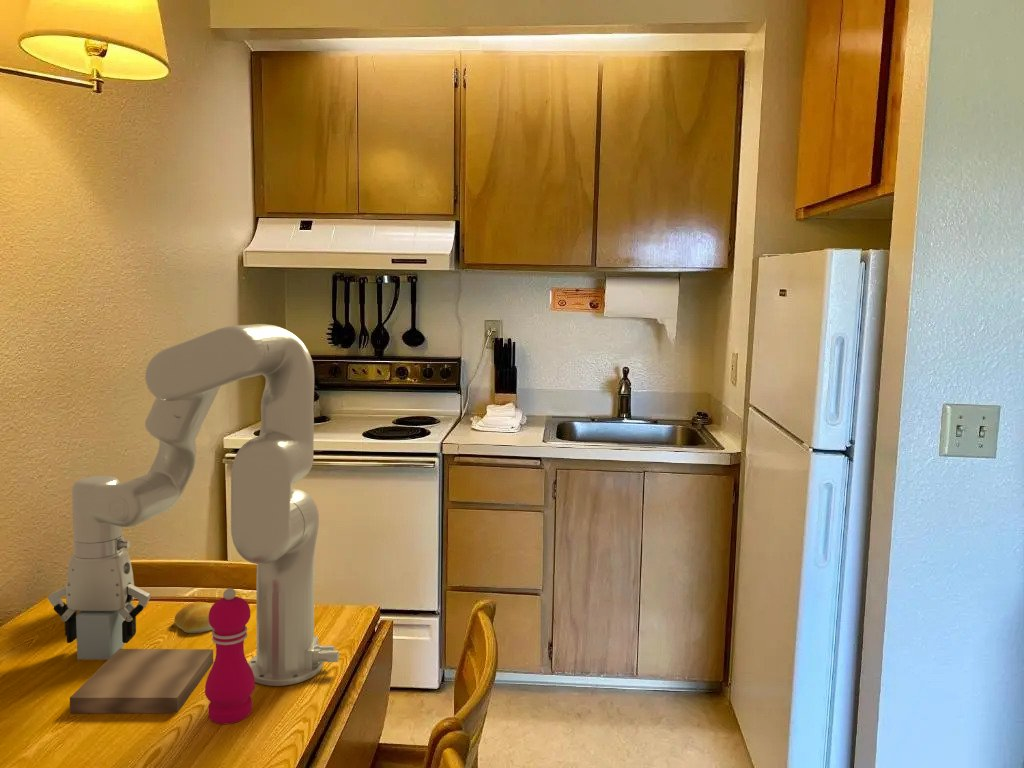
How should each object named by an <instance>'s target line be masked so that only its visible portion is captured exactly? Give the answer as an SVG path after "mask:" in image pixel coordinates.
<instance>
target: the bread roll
mask: <svg viewBox="0 0 1024 768" xmlns="http://www.w3.org/2000/svg"><path fill="white" fill-rule="evenodd" d="M211 607H212V604H210V603H208V602H204V601H195V602H194V601H193V602H191V603H189V604H186V605H184V606H183V607H182V608H181V609H179V610H178V611H177V613H176V614H175V616H174V623H175V626H177V628H178V629H180V630H182V631H183V632H185V633H187V634H197V633H206V632H210V631H213V630H214V629H213V628H212V627H211V625H210V623H209V619H208V617H209V611H210V609H211Z"/></svg>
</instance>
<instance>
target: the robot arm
mask: <svg viewBox="0 0 1024 768" xmlns="http://www.w3.org/2000/svg"><path fill="white" fill-rule="evenodd" d="M261 375H262V376H263V377H264V379H265V385H264V389H263V391H262V397H261V401H260V418H261V419H260V431H259V435H258V436H255V437H253V438H251V439H250V440H248V441H246V442H245V443H244V444H243V445H242V446H240V448H239V450H237V452H236V454H235V457H234V460H233V463H232V466H231V475H230V477H231V478H230V534H231V539H232V543H233V546H234V548H235V549H236V552H237V553H238V554H239V555H240V557H241V558H243V559H244V560H245V561H247V562H249V563H250V564H255V565H256V590H255V591H256V596H255V597H256V655H255V656H253V657H252V658H251V660H250V661H249V662H248V664H249V665H250V667H251V669H252V671H253V674H254V679H255V683H257V684H260V685H263V686H273V687H280V686H281V687H283V686H289V685H295V684H299V683H302V682H305V681H307V680H309V679H311V678H313V677H314V676H316V675H318V673H320V671H321V670H322V668H323V666H324V665H323V664H324V663H326V662H327V663H338V662H339V659H340V652H339V650H335V645H322V644H321V643H319V636H315V572H316V570H315V564H316V561H315V560H316V547H317V540H318V534H319V533H318V532H319V524H320V519H319V518H320V517H319V516H320V515H319V510H318V507H317V504H316V502H315V500H314V499H313V498H312V496H311V495H310V494H309V493H307V492H306V491H304V490H302V489H298V488H294V487H293V488H292V486H293V485H294V484H296V483H298V482H299V481H301V480H303V479H304V478H305V477H306V476H307V475H308V474H309V472H310V471H311V469H312V468H313V463H314V436H315V435H314V434H315V433H314V432H315V431H314V428H315V426H314V425H315V419H314V418H315V414H314V410H315V409H314V403H315V401H314V399H315V397H314V396H315V368H314V362H313V359H312V357H311V354H310V352H309V350H308V347H306V344H305V343H304V342H303V341H302V340H301V339H300V338H299V337H298V336H297V335H295V334H294V333H293V332H291V331H289V330H288V329H285V328H283V327H281V326H278V325H273V324H267V323H255V324H254V323H252V324H236V325H228V326H224V327H221V328H217V329H215V330H213V331H212V330H211V331H210V332H206V333H205V334H202V335H200V336H196V337H194V338H191V339H189V340H185V341H184V342H180V343H178V344H175V345H173V346H172V345H171V346H170V347H167V348H164V349H162V350H161V351H159V352H157V353H156V354H155V355H154V356H153V357H152V358H150V360H149V362H148V364H147V367H146V370H145V377H144V378H145V384H146V386H147V389H148V390H149V392H150V393H151V394H152V395H153V397H155V400H154V402H153V404H152V406H151V408H150V410H149V412H148V414H147V416H146V418H145V421H144V426H145V429H146V431H147V432H148V433H149V434H150V435H151V436H152V437H153V438H155V439H156V440H158V441H159V442H158V443H159V446H158V450H157V453H156V456H155V458H154V461H153V462H152V465H151V467H150V469H149V470H148V472H147V474H144V475H141V476H139V477H136V478H133V479H131V480H128V481H124V482H121V481H120V480H119V478H117V477H115V476H110V475H93V476H87V477H82V478H80V479H78V480H76V481H75V482H74V484H73V485H72V490H71V497H72V498H71V501H72V528H73V529H72V533H73V554H72V555H71V556H70V557H69V562H68V566H67V567H68V568H67V572H66V583H65V586H64V587H62V588H60V589H57V590H55V591H54V592H52V593H50V594H49V595H48V596H47V599H48V601H49V603H50V605H52V607H53V611H54V612H55V613H56V614H58V615H59V616H60V619H61V621H62V622H64V635H65V637H66V644H71V643H73V642H75V640H77V628H76V615H78V614H79V613H78V612H81V611H118V612H119V613H120V615H121V616H122V617H123V618H124V621H123V622H122V642H123V643H124V644H128V643H129V642H130V641H131V640H132V639H133V638H134V637H135V636H136V635H137V616H138V615H139V614H140V613H141V612H142V611H143V610H144V609H145V608H146V606H147V605H148V603H149V601H150V599H151V597H152V595H151V593H149V592H147V591H145V590H143V589H142V588H139V586H136V585H135V581H134V580H135V579H134V572H133V567H132V563H131V558H130V555H129V551H128V550H124V549H129V548H130V547H131V541H130V540H126V539H124V537H125V536H124V535H123V527H124V528H130V527H135V526H138V525H140V524H142V523H144V522H146V521H149V520H150V519H152V518H154V517H157V516H158V515H159V516H160V515H161V514H163V513H165V512H167V511H169V510H170V509H171V508H173V507H174V506H175V505H176V504H177V503H178V501H179V500H180V499H181V498H182V495H183V494H184V491H185V490H186V487H187V485H188V483H189V481H190V479H191V477H192V475H193V472H194V469H195V466H196V462H197V459H196V458H197V444H196V441H197V440H196V439H197V436H198V434H199V432H200V429H202V426H203V424H204V421H205V419H206V417H207V416H208V413H209V411H210V409H211V407H212V405H213V404H214V401H215V399H216V396H217V394H218V392H219V390H220V388H221V387H222V386H224V385H227V384H230V383H233V382H236V381H240V380H245V379H248V378H253V377H258V376H261ZM64 596H65V601H63V599H62V598H63V597H64ZM135 599H137V600H138V602H137V604H136V606H135V605H134V604H133V603H132V602H133V601H134V600H135ZM65 602H66V603H65Z"/></svg>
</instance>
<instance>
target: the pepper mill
mask: <svg viewBox="0 0 1024 768" xmlns="http://www.w3.org/2000/svg"><path fill="white" fill-rule="evenodd" d="M236 594H237V593H236V590H235V589H234V588H231V587H229V588H226V589H225V590H224V591H223V595H222V596H223V597H222V598H220V599H218V600H216V601H215V602H214V603H213V604H211V606H212V607H211V609H210V611H209V617H208V619H209V623H210V625H211V627H212V628H213V630H211V631H212V633H211V635H212V638H211V640H212V642H213V643H214V645H215V648H216V649H215V658H214V660H213V664H212V665H211V667H210V669H209V670H210V671H209V673H208V675H207V678H206V681H205V685H204V695H205V697H206V698H207V700H208V701H209V703H208V718H209V720H210V721H211V722H213V723H215V724H220V725H227V724H228V725H229V724H233V723H234V724H235V723H238V722H240V721H242V720H244V719H246V718H247V717H248V716H249V715H250V714H251V713H252V711H253V703H252V701H253V699H252V697H251V695H252V694H253V692H254V690H255V686H256V682H255V679H254V674H253V671H252V669H251V667H250V665H249V664H248V663H249V662H248V660H247V658H246V656H245V649H244V648H245V647H244V646H245V645H244V644H245V640H246V639H247V637H248V632H247V631H248V627H247V624H248V623H249V621H250V620H251V619H250V618H251V608H250V605H249V603H248V602H247V601H246V600H245V599H244V598H242V597H239V596H237V595H236Z"/></svg>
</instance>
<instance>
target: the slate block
mask: <svg viewBox="0 0 1024 768" xmlns="http://www.w3.org/2000/svg"><path fill="white" fill-rule="evenodd" d="M77 614H78V615H76V628H77V638H76V652H77V653H76V654H77V655H76V656H77V657H76V658H77V660H108V659H110V658H111V657H112V656H113V655H114V654H115V653H116V652H117V651H118V650H119V649H123V647H124V646H125V643H123V642H122V622H123V621H124V620H125V619H124V618H123V617H122V616H121V615H120V613H119V612H118V611H79V613H77Z"/></svg>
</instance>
